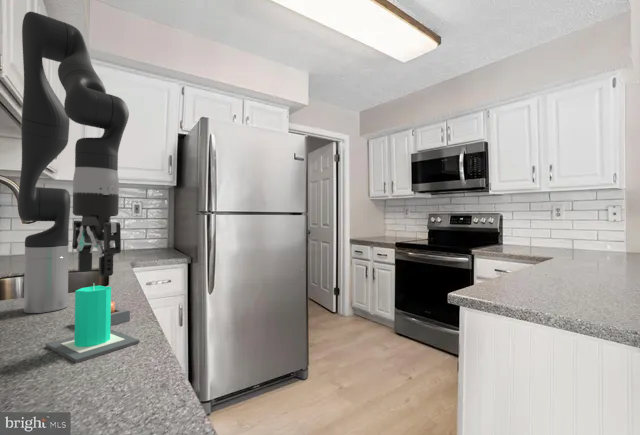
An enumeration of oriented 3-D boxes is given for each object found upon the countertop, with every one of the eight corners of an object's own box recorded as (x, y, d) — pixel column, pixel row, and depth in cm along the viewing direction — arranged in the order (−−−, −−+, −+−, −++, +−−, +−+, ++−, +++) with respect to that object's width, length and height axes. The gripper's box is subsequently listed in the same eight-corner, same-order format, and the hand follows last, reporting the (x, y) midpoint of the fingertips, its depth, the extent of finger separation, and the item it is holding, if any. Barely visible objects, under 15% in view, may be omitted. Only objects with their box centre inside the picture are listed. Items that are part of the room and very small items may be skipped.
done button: (89, 316, 78) (89, 304, 78) (109, 312, 82) (109, 300, 82) (98, 319, 75) (98, 306, 75) (118, 315, 79) (118, 302, 79)
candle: (91, 348, 61) (92, 284, 61) (66, 345, 62) (67, 282, 62) (118, 337, 67) (119, 278, 67) (94, 334, 68) (95, 277, 68)
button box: (77, 323, 77) (77, 313, 77) (112, 315, 84) (113, 305, 84) (93, 330, 73) (93, 318, 73) (129, 320, 80) (129, 310, 80)
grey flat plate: (46, 346, 63) (46, 343, 63) (107, 330, 73) (107, 327, 73) (76, 363, 56) (76, 358, 56) (139, 342, 66) (139, 339, 66)
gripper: (58, 191, 65) (57, 272, 65) (92, 189, 58) (91, 280, 58) (99, 194, 72) (98, 267, 72) (135, 192, 64) (133, 274, 64)
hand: (95, 273), depth 65 cm, fingers open, 8 cm apart
